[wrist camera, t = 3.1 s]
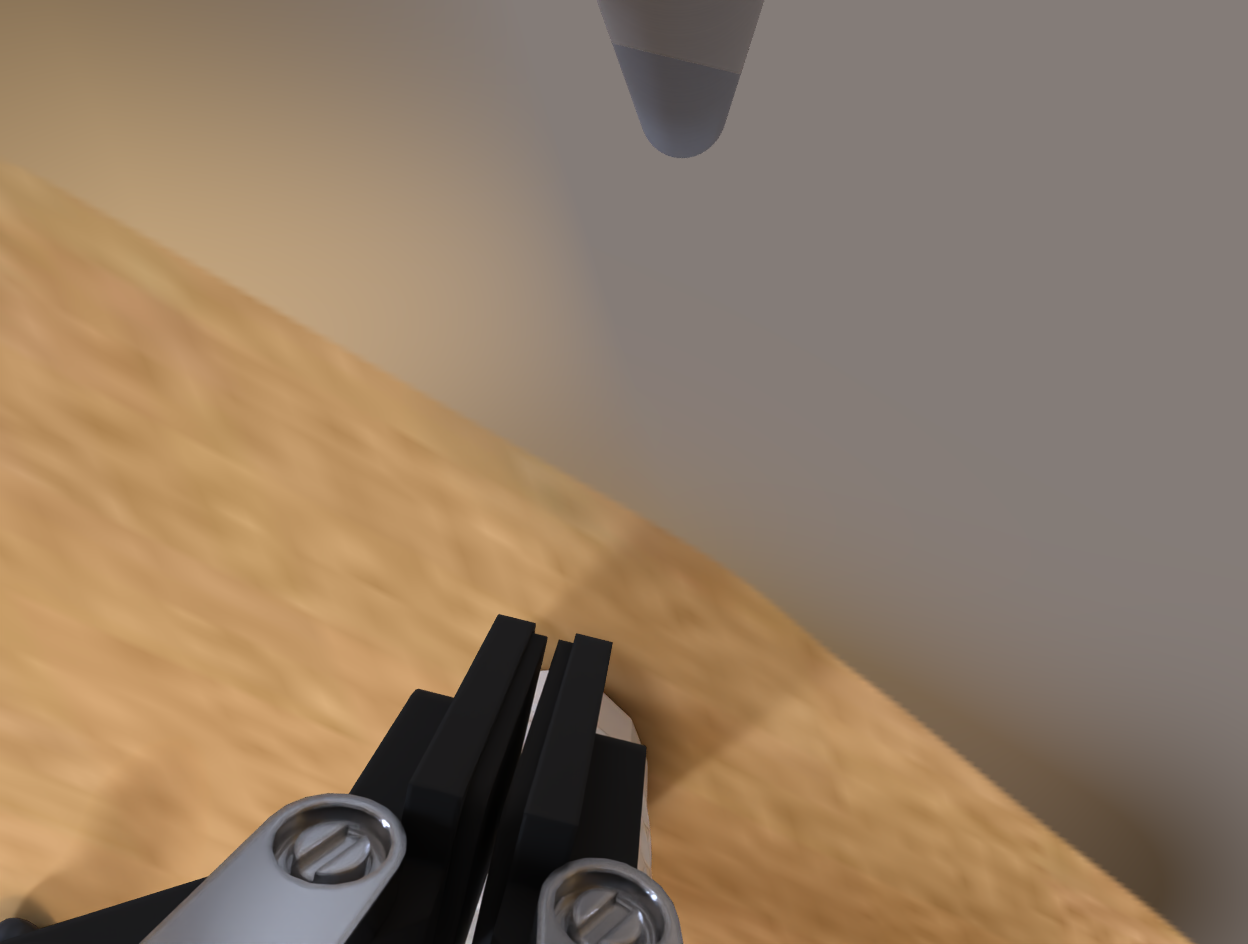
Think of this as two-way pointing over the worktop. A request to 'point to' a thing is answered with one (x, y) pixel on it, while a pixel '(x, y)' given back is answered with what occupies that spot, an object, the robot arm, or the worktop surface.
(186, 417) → the worktop surface
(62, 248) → the worktop surface
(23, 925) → the can opener
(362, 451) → the worktop surface
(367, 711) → the worktop surface
